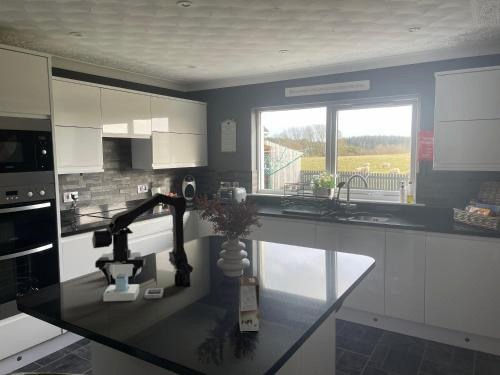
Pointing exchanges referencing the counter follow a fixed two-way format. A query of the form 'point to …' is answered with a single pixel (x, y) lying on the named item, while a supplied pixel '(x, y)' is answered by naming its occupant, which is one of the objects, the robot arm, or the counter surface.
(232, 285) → the counter surface
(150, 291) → the gray square frame
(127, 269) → the cable organizer
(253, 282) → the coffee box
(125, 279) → the plug
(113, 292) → the port panel
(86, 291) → the counter surface
